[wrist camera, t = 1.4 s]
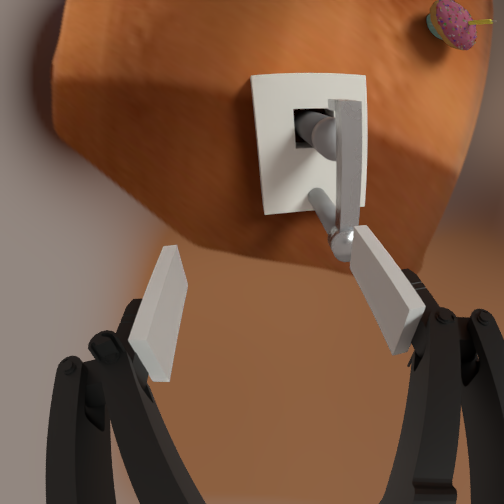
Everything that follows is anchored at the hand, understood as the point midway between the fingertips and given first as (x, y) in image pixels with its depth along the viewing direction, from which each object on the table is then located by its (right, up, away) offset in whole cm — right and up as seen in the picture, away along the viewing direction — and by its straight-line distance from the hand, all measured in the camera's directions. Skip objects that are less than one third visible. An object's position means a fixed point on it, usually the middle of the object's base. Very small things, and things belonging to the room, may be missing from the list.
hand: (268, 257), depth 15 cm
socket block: (+7, +16, +21) cm, 27 cm away
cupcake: (+28, +35, +10) cm, 46 cm away
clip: (+7, +8, +10) cm, 15 cm away
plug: (+7, +17, +20) cm, 27 cm away
